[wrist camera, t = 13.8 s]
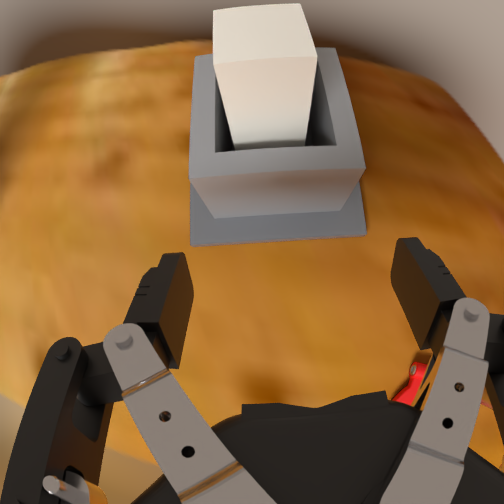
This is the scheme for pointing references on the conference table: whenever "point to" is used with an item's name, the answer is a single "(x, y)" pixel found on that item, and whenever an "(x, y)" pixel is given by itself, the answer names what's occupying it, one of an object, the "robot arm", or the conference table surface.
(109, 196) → the conference table surface
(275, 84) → the white square block
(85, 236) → the conference table surface
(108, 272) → the conference table surface
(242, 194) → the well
